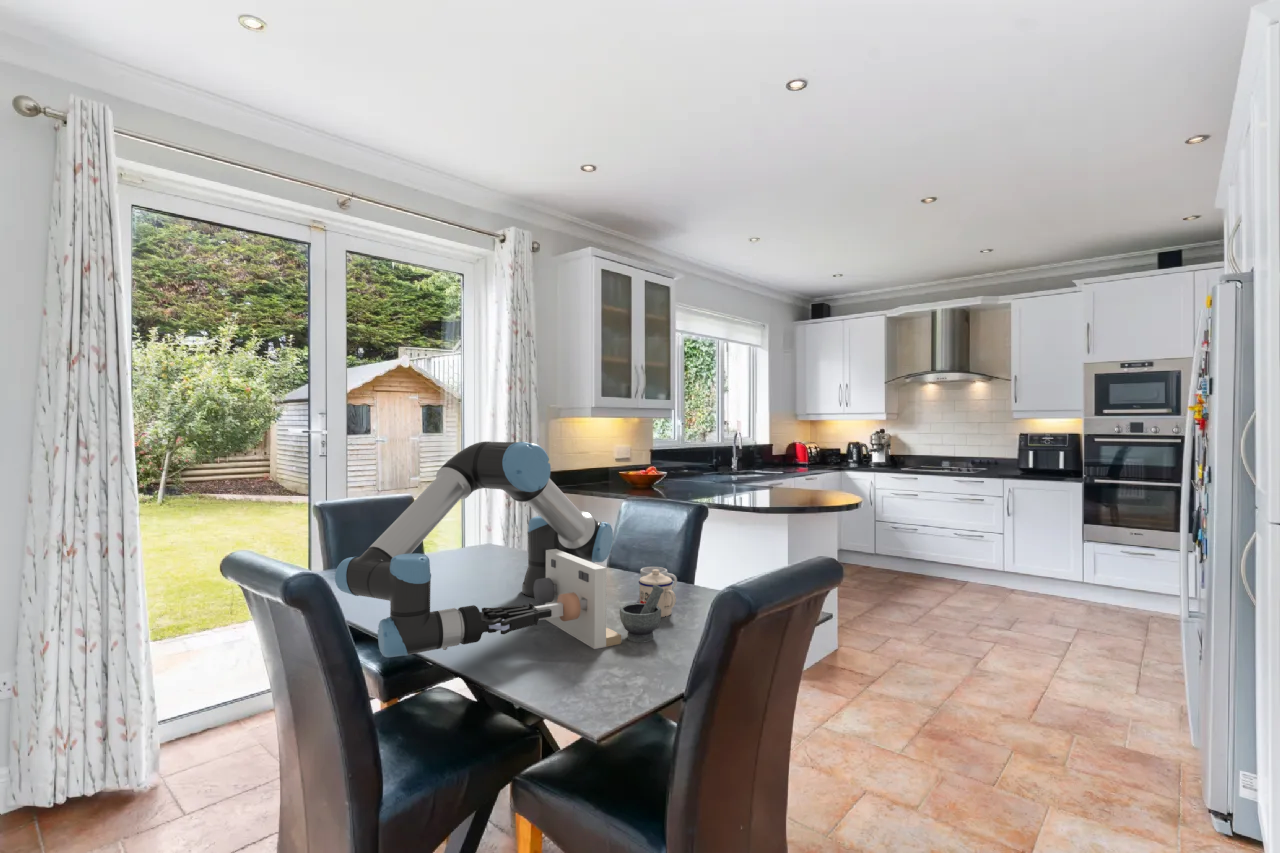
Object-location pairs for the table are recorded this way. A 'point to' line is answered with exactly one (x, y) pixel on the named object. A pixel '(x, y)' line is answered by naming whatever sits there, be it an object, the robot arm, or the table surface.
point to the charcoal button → (544, 590)
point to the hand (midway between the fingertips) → (561, 609)
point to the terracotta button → (571, 606)
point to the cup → (663, 571)
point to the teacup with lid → (666, 597)
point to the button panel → (581, 597)
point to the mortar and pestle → (642, 617)
